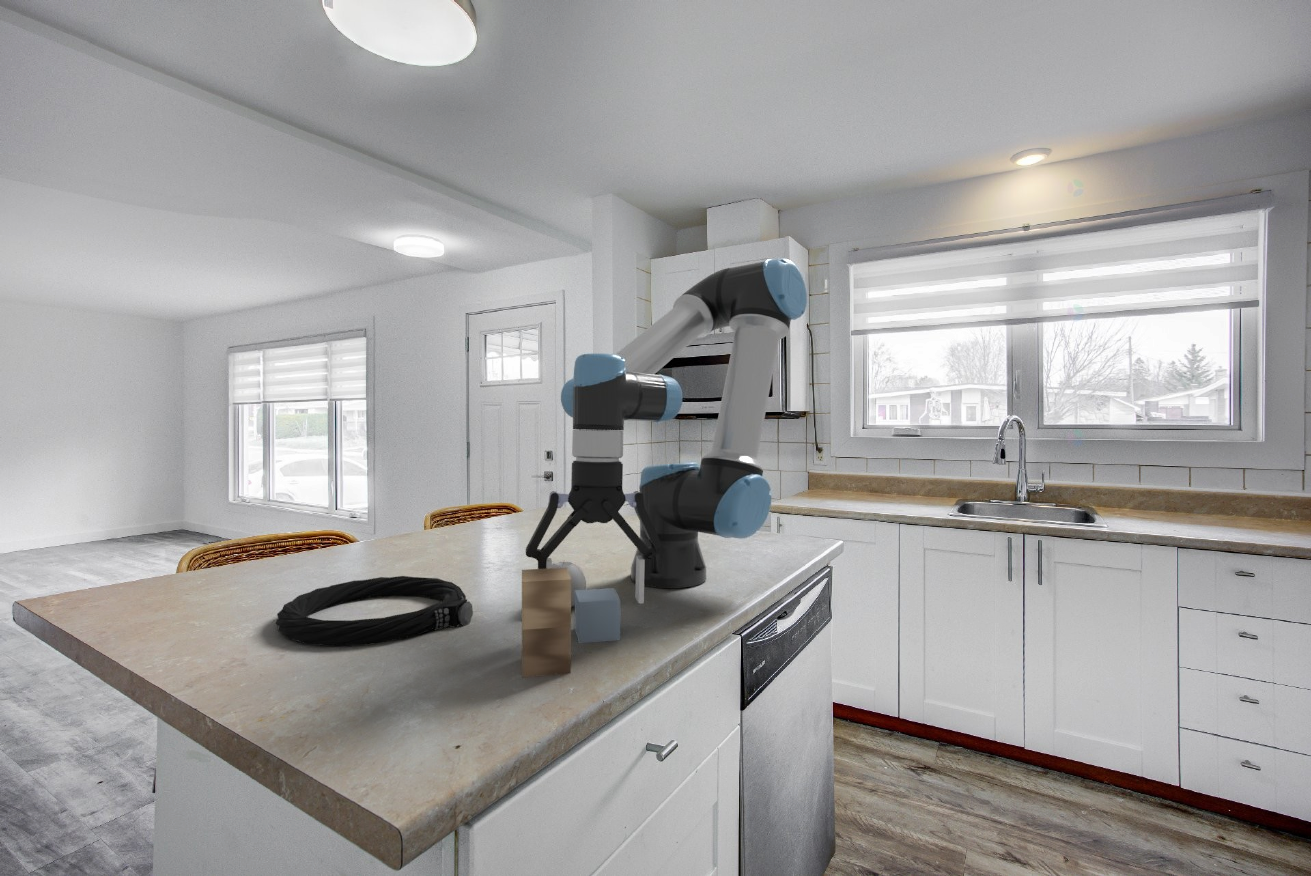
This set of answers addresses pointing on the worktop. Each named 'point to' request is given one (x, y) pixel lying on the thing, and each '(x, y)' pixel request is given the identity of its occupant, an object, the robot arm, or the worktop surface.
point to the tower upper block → (546, 598)
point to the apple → (573, 577)
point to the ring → (377, 629)
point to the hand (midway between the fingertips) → (594, 602)
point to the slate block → (597, 615)
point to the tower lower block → (546, 651)
